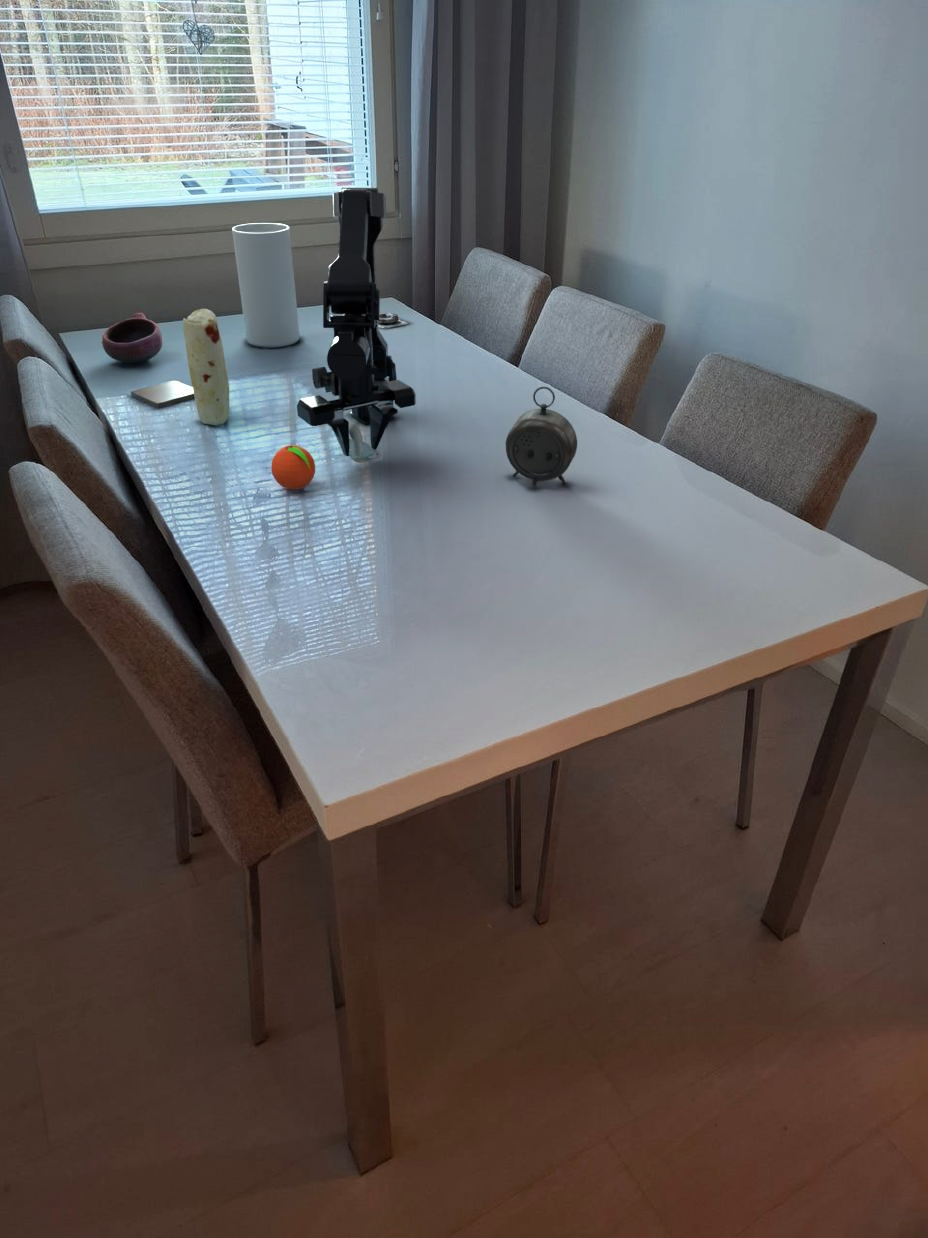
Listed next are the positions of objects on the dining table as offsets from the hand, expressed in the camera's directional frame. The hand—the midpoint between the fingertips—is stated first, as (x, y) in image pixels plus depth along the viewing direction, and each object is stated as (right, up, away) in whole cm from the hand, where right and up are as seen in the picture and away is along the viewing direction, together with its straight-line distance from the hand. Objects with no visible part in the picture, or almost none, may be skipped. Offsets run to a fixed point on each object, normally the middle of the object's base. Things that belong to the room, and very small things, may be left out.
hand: (360, 452), depth 144 cm
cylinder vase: (-28, +39, +63) cm, 80 cm away
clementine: (-10, -7, -4) cm, 13 cm away
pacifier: (+1, -1, +1) cm, 2 cm away
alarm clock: (+29, -6, -2) cm, 30 cm away
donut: (-2, +48, +77) cm, 91 cm away
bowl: (-57, +31, +51) cm, 83 cm away
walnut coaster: (-43, +17, +31) cm, 56 cm away
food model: (-30, +10, +20) cm, 37 cm away
